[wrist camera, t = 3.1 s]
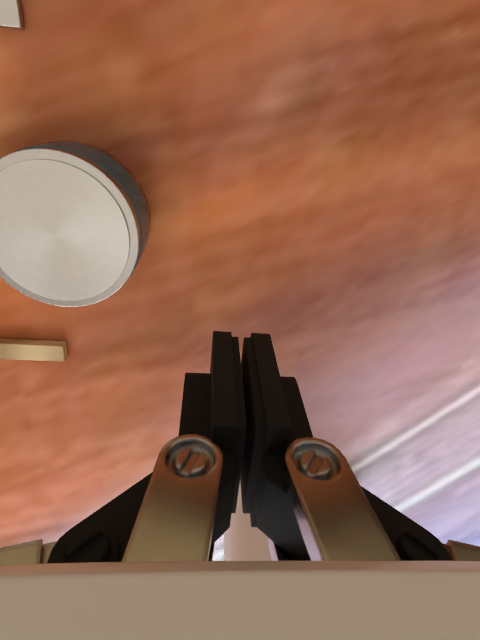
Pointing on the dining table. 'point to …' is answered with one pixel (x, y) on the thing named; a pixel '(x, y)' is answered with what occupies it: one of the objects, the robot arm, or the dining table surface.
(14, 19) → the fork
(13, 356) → the spoon
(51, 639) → the robot arm
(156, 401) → the dining table surface
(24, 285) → the tin
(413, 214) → the dining table surface
